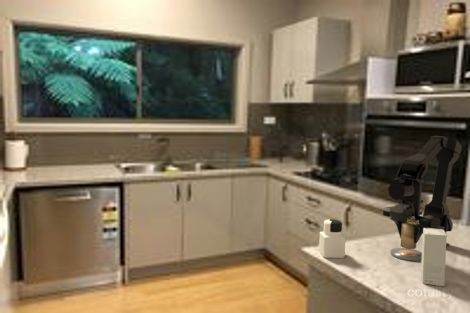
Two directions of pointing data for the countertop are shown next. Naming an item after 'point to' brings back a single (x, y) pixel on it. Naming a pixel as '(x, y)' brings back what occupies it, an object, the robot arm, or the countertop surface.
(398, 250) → the coaster
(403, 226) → the oak canister
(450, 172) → the robot arm
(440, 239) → the skincare box
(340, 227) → the medicine bottle
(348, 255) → the countertop surface
